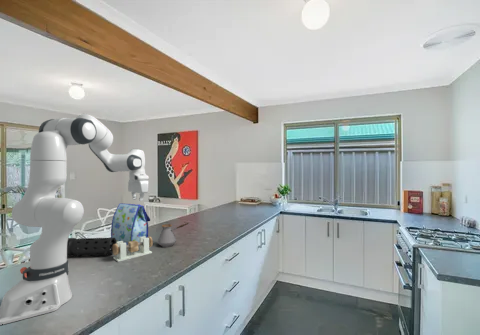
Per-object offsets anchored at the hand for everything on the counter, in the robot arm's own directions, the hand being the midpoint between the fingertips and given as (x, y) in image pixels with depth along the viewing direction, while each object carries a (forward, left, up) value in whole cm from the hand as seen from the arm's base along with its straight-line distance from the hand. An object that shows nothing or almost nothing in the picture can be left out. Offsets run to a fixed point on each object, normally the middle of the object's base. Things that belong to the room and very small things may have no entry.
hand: (137, 200), depth 148 cm
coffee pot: (+22, -3, -31) cm, 38 cm away
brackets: (-4, -3, -31) cm, 31 cm away
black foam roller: (-22, +16, -32) cm, 42 cm away
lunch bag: (+5, +24, -31) cm, 40 cm away
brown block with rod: (-4, -3, -28) cm, 29 cm away
